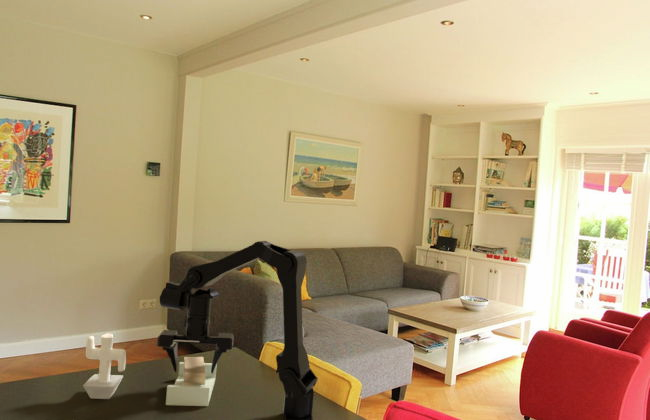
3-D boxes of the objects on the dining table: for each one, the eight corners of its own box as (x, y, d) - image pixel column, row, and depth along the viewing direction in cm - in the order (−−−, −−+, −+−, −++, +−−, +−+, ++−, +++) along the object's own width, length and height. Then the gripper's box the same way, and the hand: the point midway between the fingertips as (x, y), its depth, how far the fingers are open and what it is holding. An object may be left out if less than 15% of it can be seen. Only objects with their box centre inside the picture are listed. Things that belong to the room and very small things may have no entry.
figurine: (118, 401, 114) (122, 340, 114) (76, 400, 113) (81, 338, 113) (127, 389, 122) (131, 331, 121) (88, 388, 120) (93, 329, 120)
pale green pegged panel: (215, 379, 133) (216, 363, 133) (207, 406, 116) (209, 388, 116) (178, 378, 132) (180, 362, 132) (165, 404, 115) (167, 386, 115)
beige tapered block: (202, 367, 130) (203, 356, 130) (204, 384, 119) (205, 373, 119) (183, 367, 129) (184, 357, 129) (184, 385, 117) (185, 373, 117)
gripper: (237, 307, 133) (232, 362, 133) (168, 303, 130) (163, 360, 131) (234, 317, 122) (229, 378, 122) (159, 313, 119) (154, 375, 120)
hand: (194, 372), depth 124 cm, fingers open, 9 cm apart
